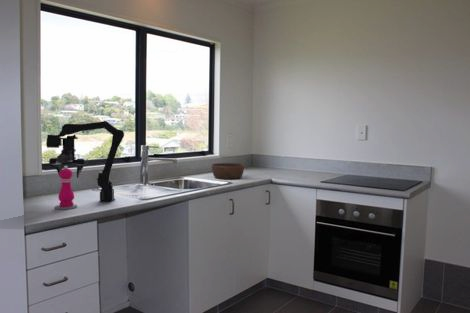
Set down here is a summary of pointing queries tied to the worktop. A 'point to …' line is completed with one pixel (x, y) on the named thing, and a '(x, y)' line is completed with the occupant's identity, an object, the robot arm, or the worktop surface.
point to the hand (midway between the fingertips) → (69, 177)
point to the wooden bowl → (227, 170)
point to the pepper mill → (66, 188)
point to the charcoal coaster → (65, 207)
